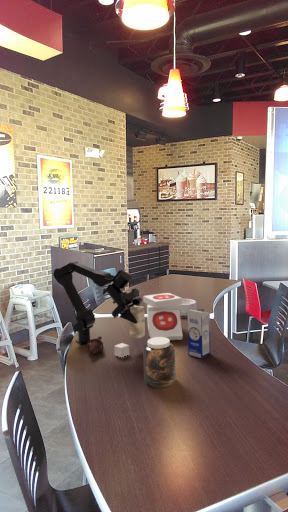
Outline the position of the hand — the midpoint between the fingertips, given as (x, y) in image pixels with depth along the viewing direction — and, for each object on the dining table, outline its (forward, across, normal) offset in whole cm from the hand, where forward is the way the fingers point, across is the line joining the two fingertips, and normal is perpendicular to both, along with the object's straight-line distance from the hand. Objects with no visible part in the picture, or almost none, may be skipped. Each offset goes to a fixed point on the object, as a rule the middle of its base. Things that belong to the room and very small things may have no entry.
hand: (139, 321), depth 164 cm
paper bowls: (+6, +63, +13) cm, 65 cm away
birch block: (+4, 0, +6) cm, 7 cm away
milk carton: (+28, +6, -8) cm, 29 cm away
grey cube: (+6, -8, +13) cm, 16 cm away
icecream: (-2, -10, +22) cm, 24 cm away
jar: (+24, -23, -5) cm, 34 cm away
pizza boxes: (+10, +25, +10) cm, 28 cm away
